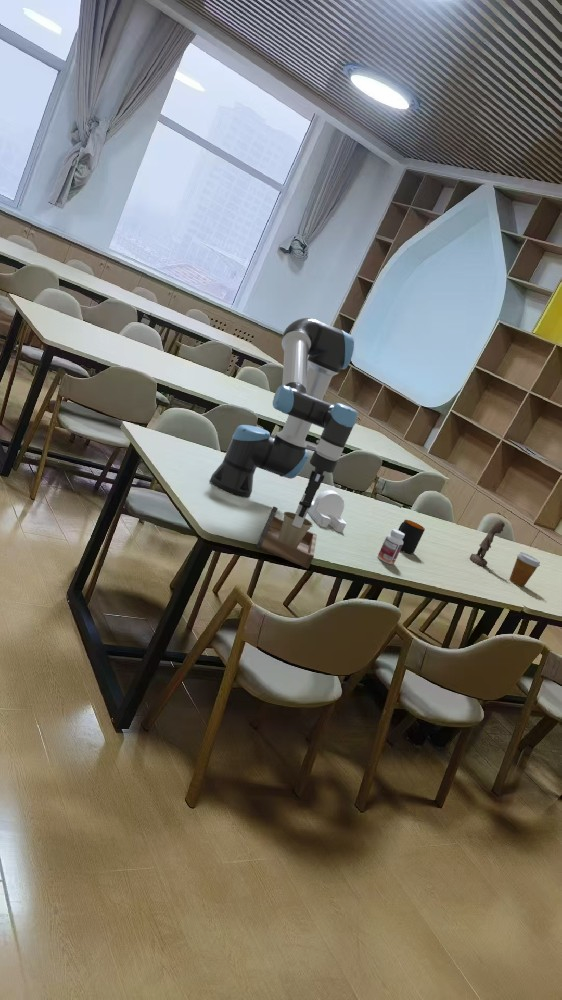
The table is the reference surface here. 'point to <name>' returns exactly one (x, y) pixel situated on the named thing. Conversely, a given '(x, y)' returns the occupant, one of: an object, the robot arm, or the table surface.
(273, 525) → the wooden tray
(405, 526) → the mug
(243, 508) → the table surface
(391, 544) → the pill bottle
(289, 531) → the flower pot
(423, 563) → the table surface
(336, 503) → the bracket
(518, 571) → the disposable coffee cup
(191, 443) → the table surface
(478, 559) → the figurine
